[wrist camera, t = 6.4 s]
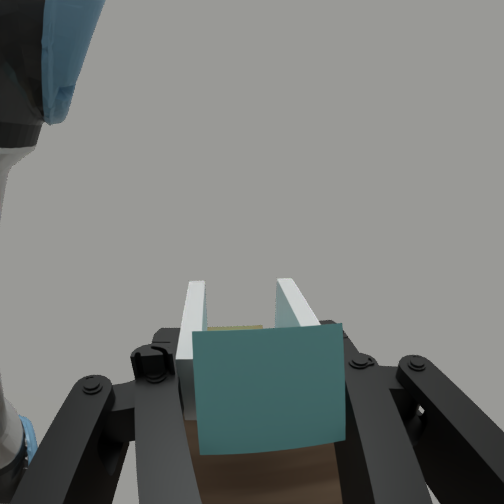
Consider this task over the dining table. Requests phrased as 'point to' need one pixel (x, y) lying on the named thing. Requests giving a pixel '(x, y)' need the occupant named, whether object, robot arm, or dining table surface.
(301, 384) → the peg
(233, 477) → the post
